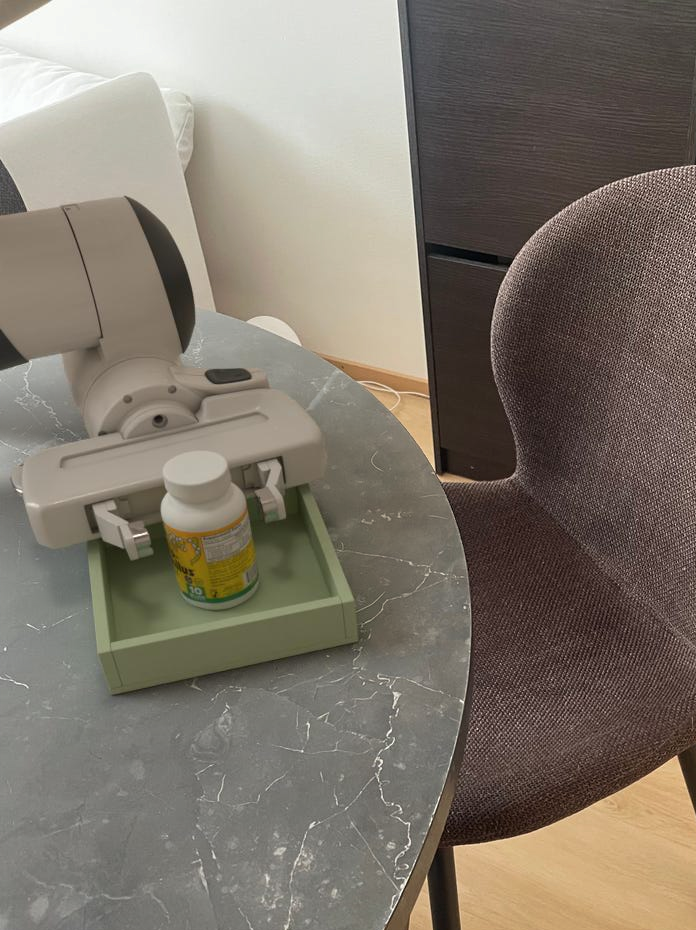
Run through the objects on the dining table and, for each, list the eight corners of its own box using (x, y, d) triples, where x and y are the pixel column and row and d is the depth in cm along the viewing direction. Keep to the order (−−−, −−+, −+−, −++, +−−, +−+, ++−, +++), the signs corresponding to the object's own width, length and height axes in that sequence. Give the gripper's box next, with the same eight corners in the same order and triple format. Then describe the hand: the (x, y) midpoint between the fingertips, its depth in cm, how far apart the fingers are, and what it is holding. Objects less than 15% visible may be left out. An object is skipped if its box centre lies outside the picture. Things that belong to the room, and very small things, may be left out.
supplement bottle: (272, 596, 70) (252, 475, 64) (196, 622, 68) (167, 500, 62) (242, 554, 74) (220, 436, 67) (169, 578, 72) (139, 458, 65)
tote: (111, 695, 64) (97, 653, 62) (95, 550, 75) (82, 509, 72) (358, 641, 68) (354, 600, 65) (309, 511, 79) (304, 471, 76)
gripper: (-9, 425, 70) (26, 533, 61) (281, 362, 77) (351, 450, 68) (19, 503, 74) (55, 615, 65) (291, 436, 81) (358, 529, 72)
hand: (209, 530), depth 67 cm, fingers open, 7 cm apart
